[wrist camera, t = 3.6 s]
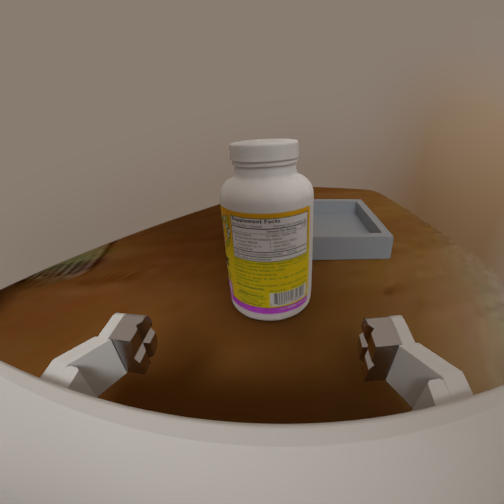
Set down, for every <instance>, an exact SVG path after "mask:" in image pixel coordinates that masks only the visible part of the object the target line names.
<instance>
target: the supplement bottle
mask: <svg viewBox="0 0 504 504" xmlns="http://www.w3.org/2000/svg"><path fill="white" fill-rule="evenodd" d="M229 149H230V160H231V161H232V164H233V165H234V166H235V168H234V171H235V174H234V176H233V177H231V178H230V179H228V180H227V181H226V182H225V183H224V184H223V186H222V188H221V191H220V206H221V214H222V223H223V232H224V241H225V250H226V258H227V266H228V275H229V283H230V291H231V297H232V301H233V304H234V305H235V307H236V308H237V309H238V310H239V311H240V312H241V313H242V314H244V315H246V316H248V317H250V318H253V319H257V320H264V321H276V320H283V319H287V318H289V317H292V316H294V315H296V314H298V313H299V312H301V311H302V310H303V309H304V308H305V307H306V305H307V304H308V302H309V300H310V295H311V280H312V253H313V206H314V191H313V187H312V185H311V183H310V181H309V180H308V179H307V178H306V177H304V176H303V175H301V174H299V173H298V172H297V170H296V162H297V161H298V157H299V146H298V141H297V140H294V139H260V140H247V141H239V142H234V143H231V144H230V145H229Z"/></svg>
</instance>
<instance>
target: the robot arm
mask: <svg viewBox="0 0 504 504" xmlns="http://www.w3.org/2000/svg"><path fill="white" fill-rule="evenodd" d="M151 326H152V322H151V319H150V317H148V316H143V315H134V314H124V313H115V314H114V315H113V316H112V318H111V319H110V320H109V322H108V323H107V325H106V326H105V327H104V329H103V330H102V332H101V333H100V334H99V336H98V337H93V338H91V339H90V340H88V341H86V342H84V343H82V344H81V345H79V346H77V347H75V348H73V349H71V350H70V351H68V352H66V353H64V354H62V355H61V356H59V357H57V358H55V359H53V361H52V362H51V363H50V365H49V366H48V368H47V369H46V370H45V372H44V373H43V375H42V376H41V378H38V377H36V376H34V375H31V374H29V373H26V372H24V371H22V370H20V369H17V368H15V367H13V366H11V365H9V364H7V363H5V362H3V361H1V360H0V504H504V385H501V386H499V387H496V388H493V389H490V390H488V391H485V392H482V393H479V394H476V395H473V393H472V391H471V389H470V387H469V385H468V382H467V380H466V378H465V376H464V374H463V372H462V371H460V370H459V369H457V368H456V367H454V366H453V365H451V364H450V363H448V362H447V361H445V360H444V359H442V358H441V357H439V356H438V355H436V354H435V353H433V352H432V351H430V350H429V349H427V348H426V347H424V346H423V345H421V344H420V343H415V341H414V339H413V337H412V335H411V332H410V330H409V328H408V326H407V324H406V322H405V320H404V318H403V316H401V315H396V316H389V317H376V318H364V319H363V321H362V326H361V327H362V331H363V332H362V333H361V334H360V335H359V339H358V356H359V359H360V360H361V361H362V362H363V364H362V372H363V376H364V381H374V380H385V379H386V381H387V382H388V383H389V384H390V385H391V387H392V388H393V389H394V390H395V391H396V392H397V393H398V394H399V395H400V396H401V397H402V398H403V399H404V400H405V401H406V402H407V403H408V404H409V405H410V406H411V407H412V408H413V409H412V411H411V412H405V413H400V414H394V415H388V416H382V417H375V418H367V419H359V420H349V421H338V422H325V423H303V424H263V423H242V422H228V421H217V420H207V419H199V418H191V417H184V416H177V415H171V414H165V413H160V412H154V411H149V410H144V409H140V408H135V407H131V406H126V405H122V404H118V403H114V402H111V401H107V400H103V399H100V398H97V397H98V396H99V395H100V394H102V393H103V392H104V391H105V390H107V389H108V388H109V387H110V386H111V385H113V384H114V383H115V382H116V381H118V380H119V379H120V378H121V377H122V376H124V375H125V374H126V373H127V372H132V373H139V374H145V373H146V371H147V369H148V367H149V365H150V363H151V362H150V360H149V358H150V357H151V356H153V355H154V354H155V352H156V349H157V336H156V333H155V332H154V331H153V330H152V329H151Z"/></svg>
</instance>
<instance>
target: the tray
mask: <svg viewBox="0 0 504 504" xmlns="http://www.w3.org/2000/svg"><path fill="white" fill-rule="evenodd" d="M392 244H393V235H392V234H391V233H390V232H389V231H388V230H387V228H386V227H385V226H384V225H383V224H382V223H381V221H380V220H379V219H378V218H377V217H376V216H375V215H374V213H373V212H372V211H371V210H370V209H369V208H368V207H367V206H366V205H365V203H364V202H363V201H362V200H355V199H314V206H313V253H312V260H339V259H389V258H390V257H391V250H392Z"/></svg>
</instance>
